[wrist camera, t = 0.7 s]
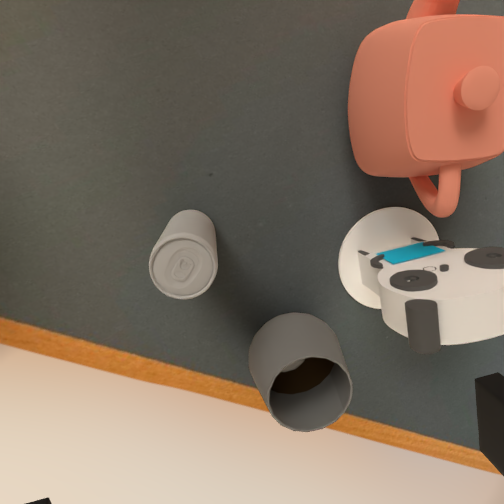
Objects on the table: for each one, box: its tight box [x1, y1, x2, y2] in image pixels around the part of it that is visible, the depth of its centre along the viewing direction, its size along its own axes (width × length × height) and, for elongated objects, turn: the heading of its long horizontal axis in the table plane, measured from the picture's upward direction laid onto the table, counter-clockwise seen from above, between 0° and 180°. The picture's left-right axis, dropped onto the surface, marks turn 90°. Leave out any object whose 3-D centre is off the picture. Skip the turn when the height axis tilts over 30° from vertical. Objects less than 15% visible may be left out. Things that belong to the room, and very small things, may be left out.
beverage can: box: [149, 210, 218, 299], centre depth 31 cm, size 5×5×12 cm
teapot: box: [348, 0, 504, 218], centre depth 30 cm, size 20×12×12 cm, turn 4°
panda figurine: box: [338, 207, 504, 354], centre depth 33 cm, size 12×11×15 cm
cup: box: [249, 312, 353, 432], centre depth 36 cm, size 10×9×10 cm
